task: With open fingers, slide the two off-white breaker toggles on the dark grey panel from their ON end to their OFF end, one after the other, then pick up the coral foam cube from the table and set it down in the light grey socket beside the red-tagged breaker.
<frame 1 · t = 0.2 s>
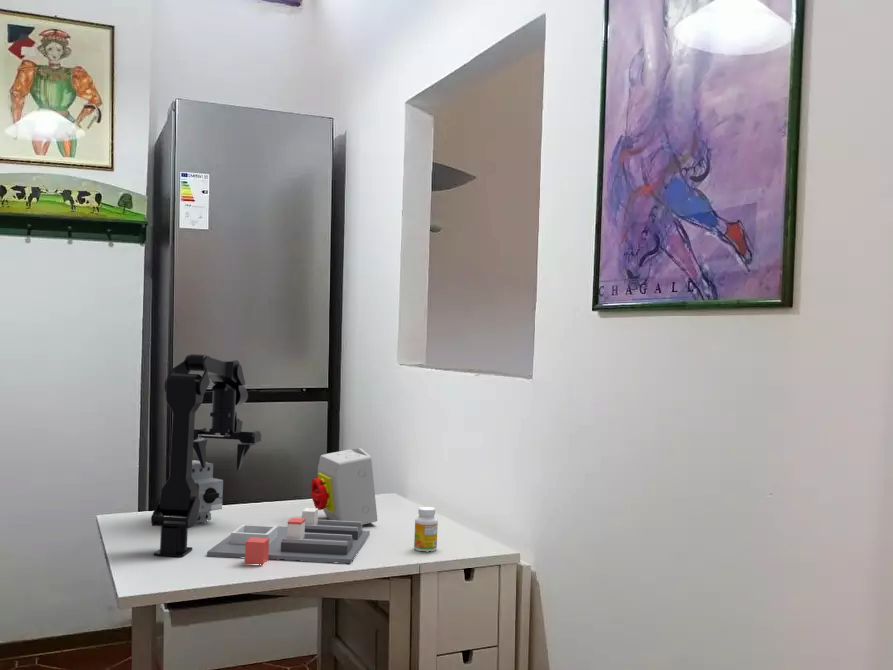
hand: (221, 468, 207), 14 cm above the table, tool pointing down, fingers open, 9 cm apart
toggle a: (296, 529, 184), point 5 cm above the table, slide at 0.0 cm
circuit breaker: (196, 523, 210), on the table
toggle b: (310, 517, 198), point 5 cm above the table, slide at 0.0 cm
electrical switch box: (339, 523, 216), on the table
coral foam cube: (256, 563, 174), on the table
supplement bottle: (425, 550, 191), on the table
panel: (293, 544, 191), on the table
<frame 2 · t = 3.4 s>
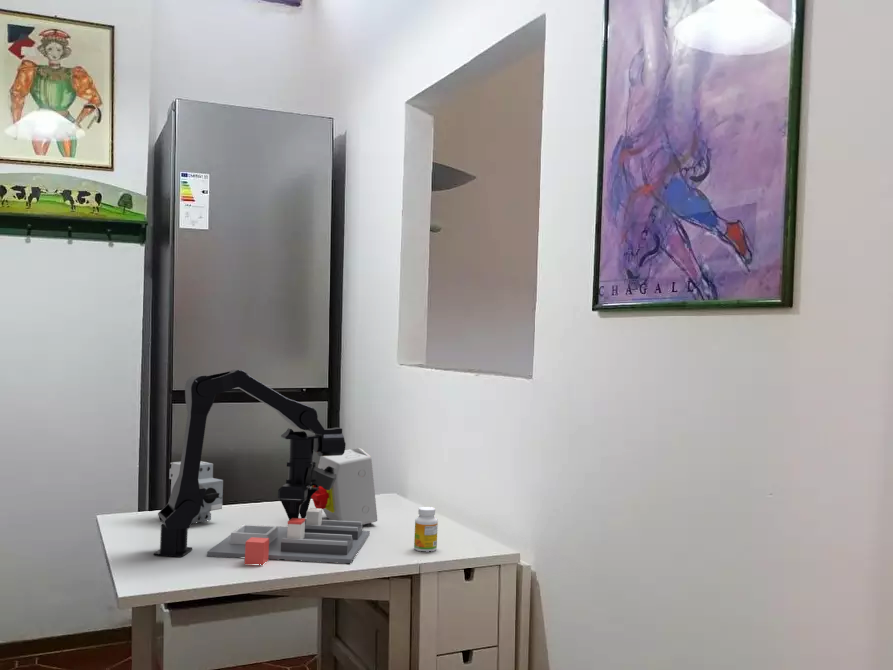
hand: (298, 522, 194), 5 cm above the table, tool pointing down, fingers open, 9 cm apart
toggle b: (314, 517, 198), point 5 cm above the table, slide at 1.0 cm, touching gripper
everything else where it was.
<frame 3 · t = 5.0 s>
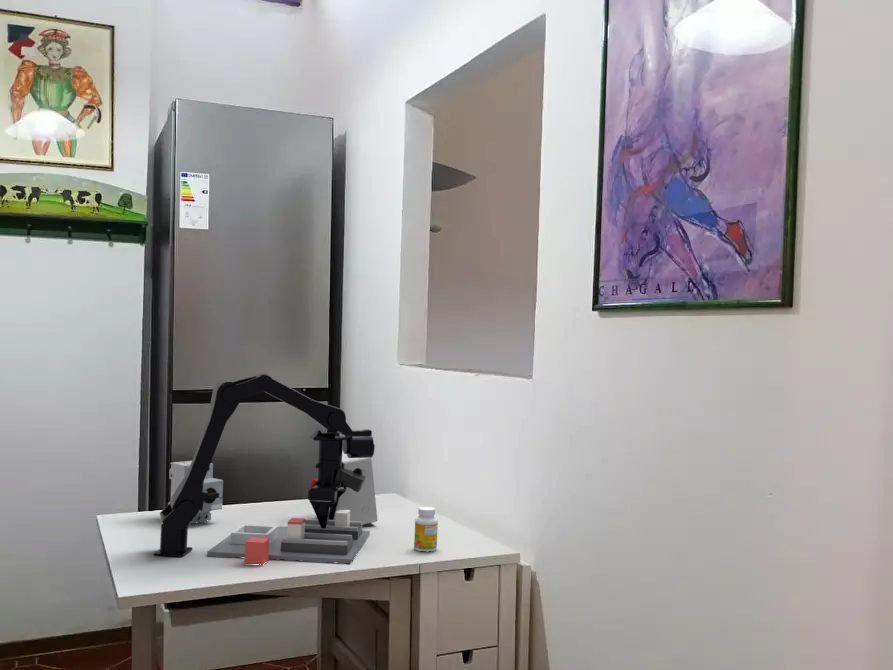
hand: (327, 523, 193), 5 cm above the table, tool pointing down, fingers open, 9 cm apart
toggle b: (342, 519, 198), point 5 cm above the table, slide at 8.0 cm, touching gripper
everything else where it was.
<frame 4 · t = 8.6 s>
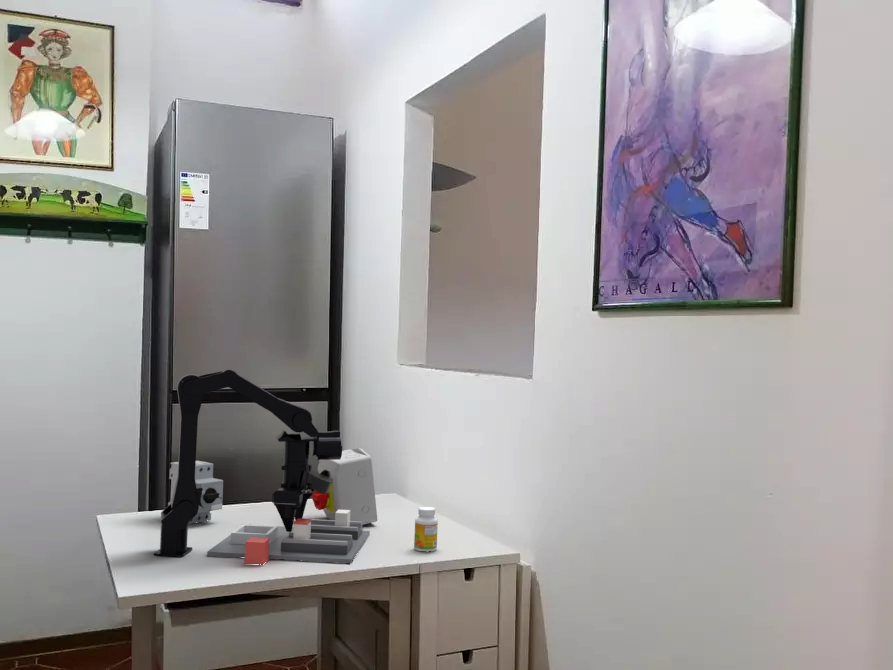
hand: (294, 527, 189), 5 cm above the table, tool pointing down, fingers open, 9 cm apart
toggle a: (302, 529, 184), point 5 cm above the table, slide at 1.4 cm, touching gripper
toggle b: (342, 519, 198), point 5 cm above the table, slide at 8.1 cm
everything else where it was.
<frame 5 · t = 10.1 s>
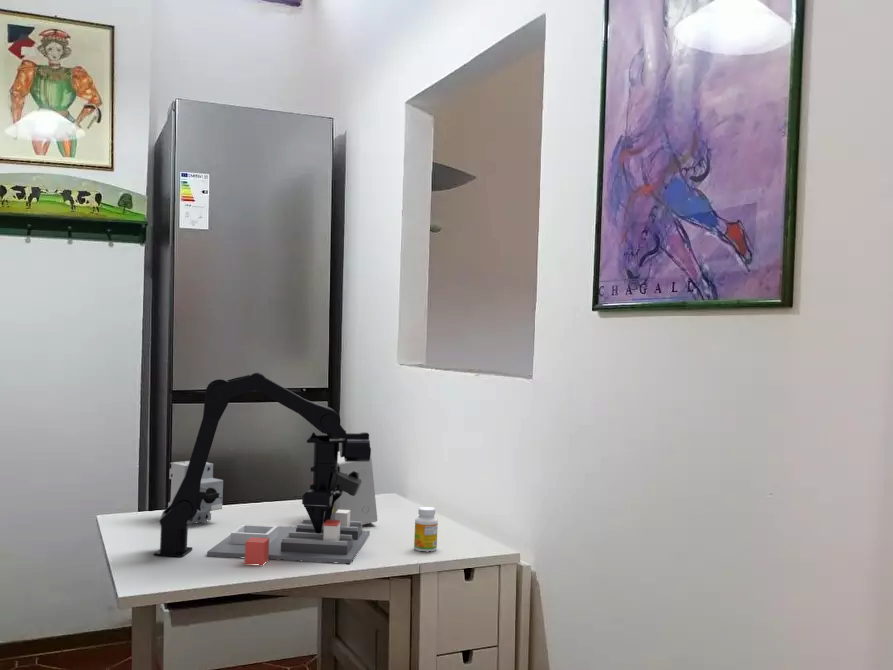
hand: (322, 528, 188), 5 cm above the table, tool pointing down, fingers open, 9 cm apart
toggle a: (331, 531, 184), point 5 cm above the table, slide at 8.2 cm, touching gripper
everything else where it was.
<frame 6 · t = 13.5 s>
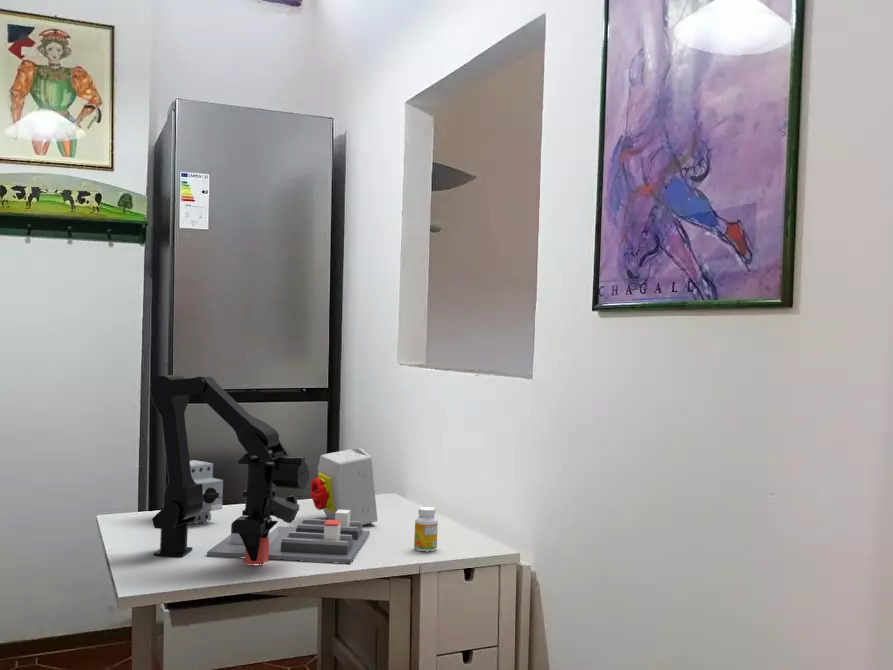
hand: (256, 558, 174), 1 cm above the table, tool pointing down, fingers closed on coral foam cube, 4 cm apart
toggle a: (332, 531, 184), point 5 cm above the table, slide at 8.3 cm
coral foam cube: (256, 562, 174), on the table, touching gripper
everything else where it was.
when the fingers open (4 cm above the table, at t = 17.5 s): coral foam cube drops 2 cm, resting on panel.
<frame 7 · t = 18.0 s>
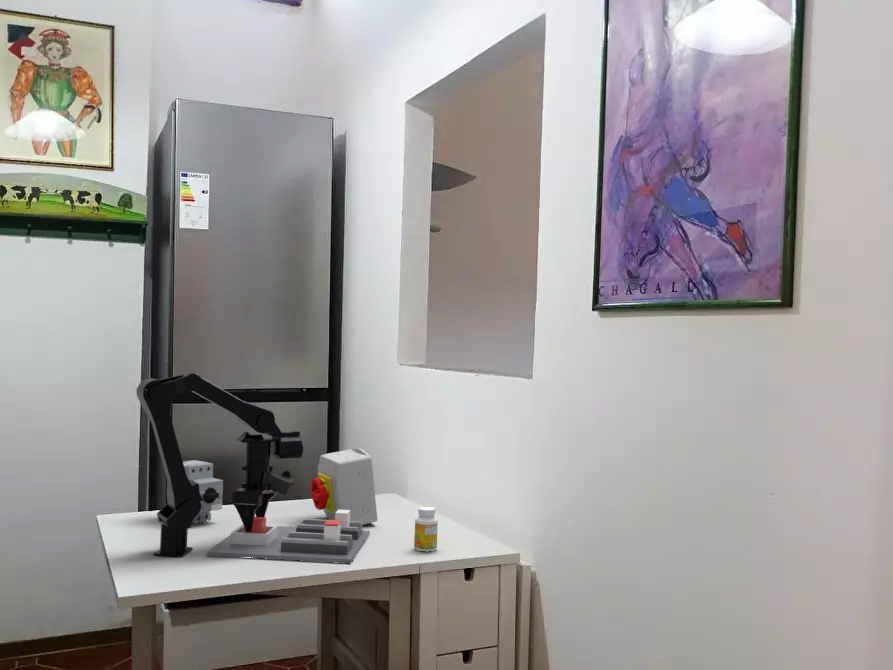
hand: (254, 527, 190), 4 cm above the table, tool pointing down, fingers open, 9 cm apart
coral foam cube: (254, 540, 190), point 1 cm above the table, touching panel
everything else where it was.
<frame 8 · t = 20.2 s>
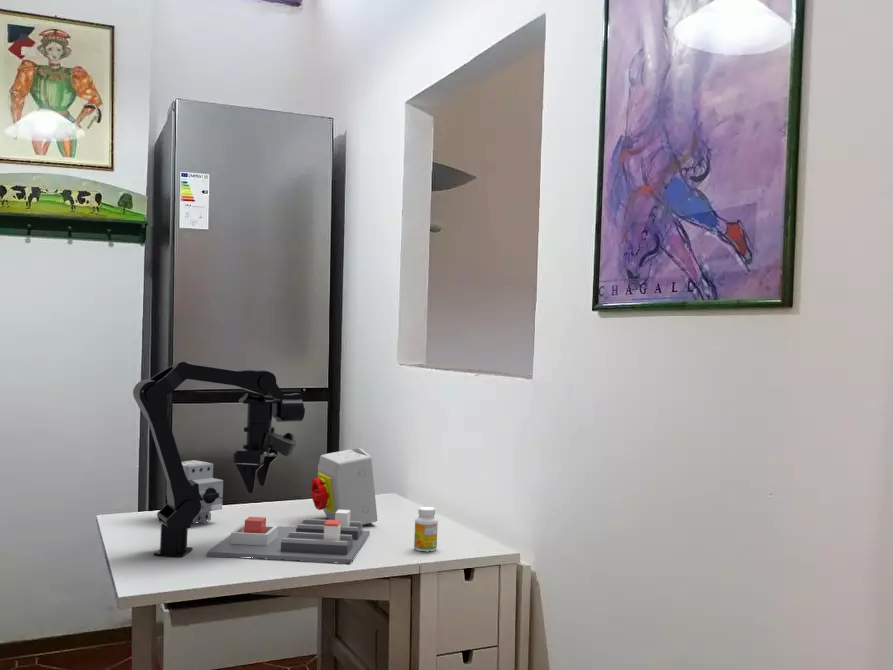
hand: (256, 489, 190), 13 cm above the table, tool pointing down, fingers open, 9 cm apart
nothing on the table moved.
at the end: toggle a slide at 8.3 cm; toggle b slide at 8.1 cm; coral foam cube 0.1 cm from the target spot on the panel, point 1.0 cm above the panel's base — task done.
